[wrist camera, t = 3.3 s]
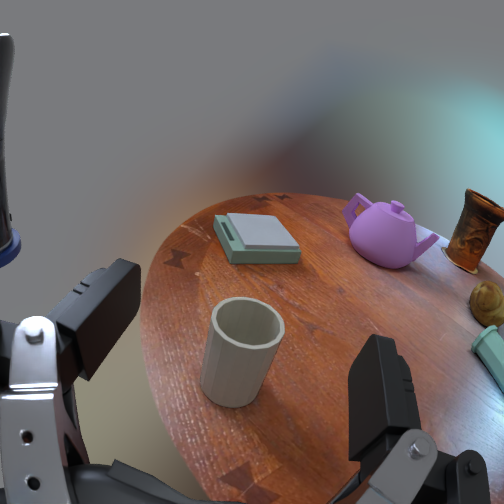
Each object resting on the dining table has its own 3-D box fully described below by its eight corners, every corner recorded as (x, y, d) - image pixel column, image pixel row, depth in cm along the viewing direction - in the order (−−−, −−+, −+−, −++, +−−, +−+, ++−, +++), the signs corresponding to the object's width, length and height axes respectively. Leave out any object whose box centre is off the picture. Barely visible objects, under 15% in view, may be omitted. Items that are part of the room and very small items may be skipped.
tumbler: (208, 411, 26) (222, 352, 21) (194, 363, 30) (204, 297, 26) (267, 402, 28) (296, 343, 23) (248, 357, 33) (269, 295, 28)
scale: (230, 263, 48) (233, 246, 46) (212, 226, 57) (215, 211, 56) (297, 263, 52) (303, 247, 51) (271, 229, 62) (275, 214, 60)
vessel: (444, 263, 70) (476, 194, 60) (436, 242, 82) (461, 183, 72) (483, 281, 66) (516, 218, 56) (471, 259, 78) (498, 203, 69)
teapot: (322, 239, 63) (341, 186, 57) (346, 223, 75) (362, 178, 69) (416, 289, 54) (444, 236, 48) (423, 263, 66) (444, 218, 60)
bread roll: (464, 291, 58) (480, 262, 54) (494, 309, 54) (511, 281, 50) (465, 319, 48) (486, 286, 45) (499, 339, 45) (521, 308, 41)
